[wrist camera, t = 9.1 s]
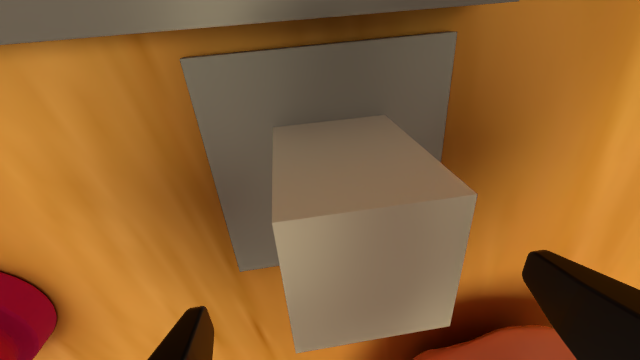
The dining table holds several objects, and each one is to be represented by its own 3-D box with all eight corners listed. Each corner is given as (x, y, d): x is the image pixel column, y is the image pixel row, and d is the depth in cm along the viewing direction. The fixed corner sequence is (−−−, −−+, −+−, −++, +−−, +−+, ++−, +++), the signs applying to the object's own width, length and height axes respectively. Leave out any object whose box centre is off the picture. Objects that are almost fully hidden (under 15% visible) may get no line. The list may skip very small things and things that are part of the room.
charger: (384, 114, 13) (477, 194, 7) (381, 209, 16) (449, 327, 10) (272, 127, 13) (271, 223, 7) (287, 222, 15) (296, 355, 9)
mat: (449, 31, 13) (457, 31, 12) (426, 235, 18) (430, 241, 17) (183, 57, 12) (179, 59, 11) (241, 264, 17) (239, 271, 17)
